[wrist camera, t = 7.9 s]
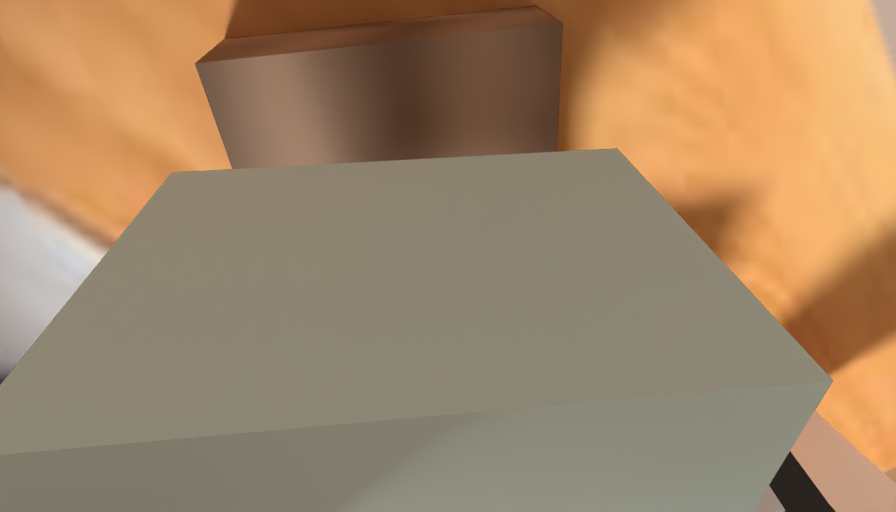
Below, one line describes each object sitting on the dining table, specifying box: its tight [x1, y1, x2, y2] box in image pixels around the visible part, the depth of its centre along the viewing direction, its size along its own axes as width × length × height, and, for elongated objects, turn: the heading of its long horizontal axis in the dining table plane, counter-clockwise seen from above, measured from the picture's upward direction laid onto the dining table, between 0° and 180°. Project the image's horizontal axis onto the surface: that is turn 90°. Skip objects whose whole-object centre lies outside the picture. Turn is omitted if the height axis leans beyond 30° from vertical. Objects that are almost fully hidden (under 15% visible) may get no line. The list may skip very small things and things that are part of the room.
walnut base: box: [195, 6, 563, 169], centre depth 22 cm, size 12×12×4 cm
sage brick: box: [0, 148, 833, 512], centre depth 11 cm, size 10×10×7 cm
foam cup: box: [790, 410, 896, 512], centre depth 30 cm, size 10×9×13 cm
